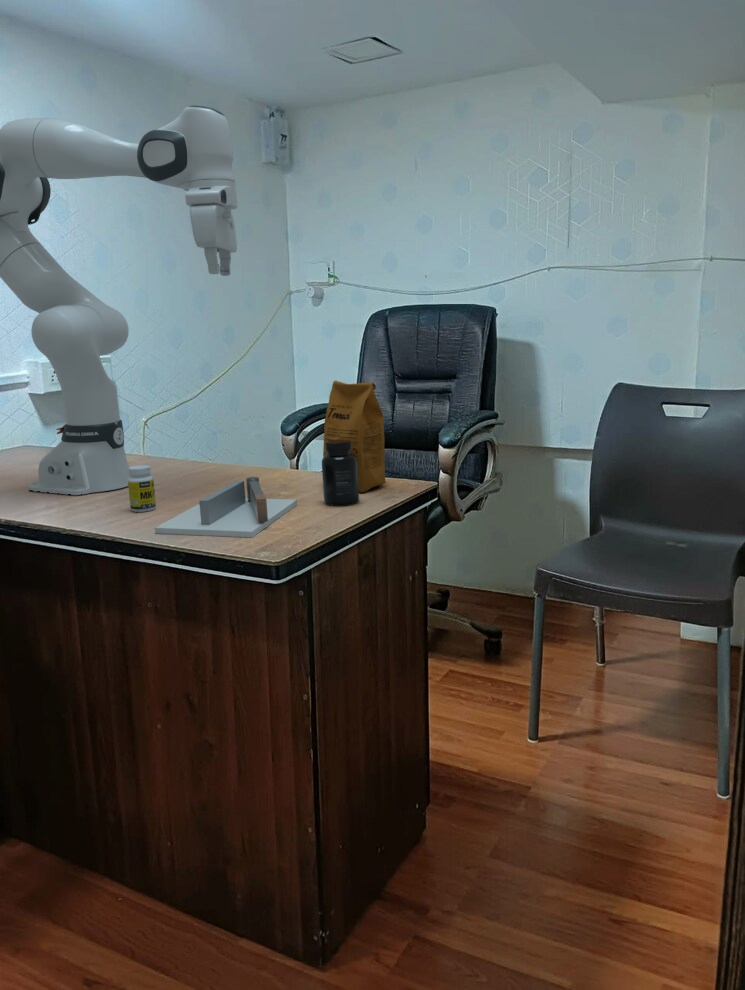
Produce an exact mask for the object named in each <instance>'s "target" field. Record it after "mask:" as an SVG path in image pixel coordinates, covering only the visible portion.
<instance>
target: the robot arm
mask: <svg viewBox="0 0 745 990" xmlns="http://www.w3.org/2000/svg"><path fill="white" fill-rule="evenodd" d="M231 137H232V136H231V130H230V125H229V122H228V119H227V117H226V115H225V114H224V113H223V112H221V111H219V110H217V109H215V108H212V107H208V106H204V105H190V106H187V107H184V109H183V110H182V111H181V112H180V114H179V115H178V116H177V118H175V119H174V120H173V121H171V122H169V123H168V124H166V125H164V126H162V127H160V128H156V129H153V130H150V131H147V132H145V134H144V135H143V136H142V137H141V139H140V141H139V143H134V142H127V141H124V140H121V139H118V138H116V137H113V136H110V135H107V134H104V133H103V132H100V131H98V130H94V129H92V128H90V127H88V126H84V125H81V124H79V123H76V122H72V121H69V120H64V119H59V118H51V117H50V118H47V117H32V118H29V117H28V118H23V119H22V118H21V119H14V120H10V121H8V122H6V123H5V124H3V125H2V127H1V128H0V279H1V280H2V281H3V282H4V283H5V284H6V285H7V287H8V288H9V289H10V290H11V291H12V292H13V293H14V294H15V296H16V297H17V298H18V300H20V302H21V303H22V304H23V305H24V306H25V307H27V308H28V309H30V310H32V311H33V312H36V313H38V314H37V315H36V317H35V318H34V319H33V322H32V324H31V339H32V341H33V343H34V345H35V347H36V348H37V350H38V351H39V352H40V353H41V354H43V355H44V356H45V358H47V360H48V361H49V363H50V365H51V367H52V368H53V370H54V373H55V376H56V378H57V379H58V383H59V386H60V390H61V395H62V401H63V406H64V413H65V421H66V423H65V424H63V426H61V427H58V428H56V429H55V431H57V432H56V433H55V434H56V435H59V434H61V438H60V440H61V441H60V442H59V443H58V444H57V445H56V446H55V447H54V448H53V449H52V450H50V452H48V453H47V454H46V455H45V456H44V457H43V458H42V459H41V460H40V462H39V465H38V480H37V481H34V482H32V483H30V484H29V485H28V491H29V490H33V491H32V492H37V491H40V492H39V493H47V492H49V493H50V494H58V493H59V495H61V494H62V495H68V494H71V495H70V496H81V494H82V495H86V494H93V493H100V492H107V491H113V490H119V489H123V488H126V487H128V478H129V477H131V476H130V475H129V467H130V466H129V462H128V460H127V455H126V451H125V435H124V425H123V420H122V419H121V418H120V408H119V407H120V406H119V400H118V392H117V390H118V389H117V386H116V383H115V382H114V381H113V379H111V378H110V376H108V374H107V372H106V370H105V367H104V365H103V363H102V360H101V357H100V356H107V355H109V354H112V353H114V352H116V351H117V350H119V349H121V348H122V347H123V346H124V345H125V344H126V342H127V340H128V338H129V332H130V331H129V329H130V328H129V325H128V322H127V319H126V317H124V315H123V314H122V313H121V312H120V311H119V310H118V309H115V308H113V307H111V306H109V305H108V304H106V303H105V302H104V301H102V300H101V299H100V298H99V297H97V296H96V295H94V294H93V293H92V292H91V291H90V290H88V289H87V288H85V287H84V286H83V284H81V283H79V281H77V280H76V279H74V277H72V276H71V275H70V274H69V273H68V272H67V271H66V270H65V269H64V268H63V267H62V266H61V265H60V264H59V262H57V260H56V259H55V258H54V257H53V256H52V255H51V253H50V252H49V251H48V250H47V249H46V248H45V246H43V245H42V243H41V242H40V241H39V240H38V239H37V237H36V236H34V234H33V233H32V232H31V230H30V228H29V225H30V226H31V225H33V224H36V223H38V221H39V220H40V216H41V214H42V213H43V212H44V211H45V210H46V208H47V206H48V204H49V203H50V199H51V193H52V192H51V184H50V181H49V179H56V180H77V179H78V180H80V179H89V178H90V179H91V178H103V177H104V178H106V177H126V176H127V177H136V178H147V179H148V180H150V181H152V182H154V183H156V184H160V185H164V186H169V187H173V188H176V189H177V188H178V189H181V190H184V191H186V192H185V195H184V197H185V199H184V200H185V205H187V206H188V207H189V216H190V217H189V218H190V222H191V229H192V236H193V239H194V242H195V244H196V247H198V248H200V249H204V250H203V251H204V256H205V261H206V263H207V268H208V269H207V271H208V274H210V275H218V274H220V276H222V277H227V276H229V277H230V276H231V262H232V254H233V253H236V252H237V249H238V244H237V243H238V241H237V235H236V227H235V220H234V216H233V214H232V210H236V209H238V199H237V198H238V197H237V186H236V185H237V184H236V178H235V175H234V173H233V161H234V152H233V150H234V149H233V143H232V138H231ZM33 220H34V221H33ZM218 258H219V261H218ZM219 263H220V264H219ZM49 493H48V494H49Z"/></svg>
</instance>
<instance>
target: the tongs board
mask: <svg viewBox="0 0 745 990" xmlns="http://www.w3.org/2000/svg"><path fill="white" fill-rule="evenodd" d="M245 479H246V481H244V480H235V481H233V482H231V483H230V484H227V485H225V486H224V487H222V488H220V489H218V490H216V491H214V492H212V493H211V494H209V495H207V496H206V497H203V498H201V499H199V501H198V502H199V503H198V504H195V505H193V507H191V508H189V509H187V510H185V511H183V512H181V513H180V514H178V515H175V516H174V517H172V518H171V519H168V520H166V521H165V522H163V523H161V524H159V525H157V526H155V527H154V533H155V534H158V535H159V534H161V535H162V534H165V535H190V536H208V537H210V536H211V537H231V538H232V537H233V538H254V537H255V536H257V534H259V533H261V532H262V531H263V530H265V529H266V528H267V527H268V526H270V525H271V524H273V523H275V522H276V521H277V520H278V519H280V518H281V517H282V516H284V515H286V513H288V512H290V510H292V509H293V508H295V507H297V506H298V500H297V499H289V498H285V499H284V498H281V499H280V498H266V501H267V515H268V521H267V522H258V521H257V518H256V515H255V512H254V510H253V507H252V504H251V501H250V488H249V481H258V483H259V484H260V478H259V477H258V476H251V477H250V476H249V477H247V478H245ZM245 482H246V490H245ZM246 491H247V492H246ZM246 495H247V497H246Z"/></svg>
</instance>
